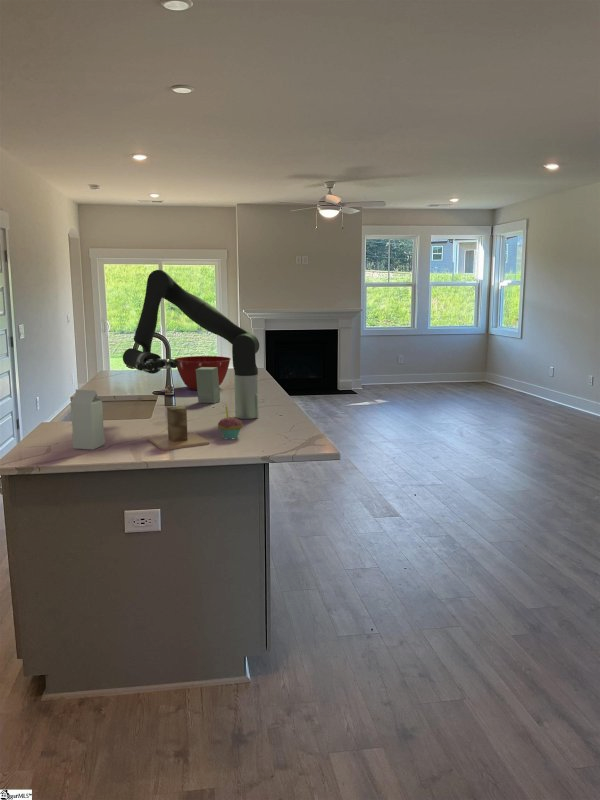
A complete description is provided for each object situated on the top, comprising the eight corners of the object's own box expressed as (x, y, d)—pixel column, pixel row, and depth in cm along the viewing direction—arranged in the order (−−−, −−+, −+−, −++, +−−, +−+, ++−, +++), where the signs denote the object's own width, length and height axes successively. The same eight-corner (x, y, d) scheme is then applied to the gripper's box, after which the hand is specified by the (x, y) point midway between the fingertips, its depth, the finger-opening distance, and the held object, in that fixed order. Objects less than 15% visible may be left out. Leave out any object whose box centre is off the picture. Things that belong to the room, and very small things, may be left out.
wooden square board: (192, 434, 220) (192, 432, 220) (209, 444, 206) (209, 441, 206) (147, 439, 212) (147, 437, 212) (162, 450, 198) (162, 448, 198)
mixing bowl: (203, 382, 338) (202, 354, 335) (242, 387, 321) (242, 357, 318) (163, 389, 315) (162, 359, 312) (204, 394, 299) (203, 363, 296)
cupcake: (232, 441, 209) (231, 407, 207) (213, 438, 214) (212, 404, 212) (247, 436, 216) (247, 402, 214) (228, 433, 221) (227, 400, 219)
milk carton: (93, 450, 199) (89, 391, 196) (73, 449, 200) (69, 391, 197) (104, 444, 206) (101, 388, 202) (85, 443, 207) (81, 387, 204)
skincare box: (220, 401, 282) (219, 366, 279) (213, 404, 275) (212, 368, 272) (203, 400, 285) (202, 366, 282) (196, 403, 278) (195, 368, 275)
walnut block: (182, 437, 212) (181, 405, 210) (187, 440, 208) (186, 408, 206) (168, 439, 210) (167, 407, 208) (173, 442, 206) (171, 409, 204)
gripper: (129, 354, 226) (142, 357, 212) (167, 350, 233) (182, 353, 219) (131, 374, 227) (144, 379, 213) (168, 370, 234) (183, 374, 220)
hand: (163, 366), depth 216 cm, fingers open, 8 cm apart
